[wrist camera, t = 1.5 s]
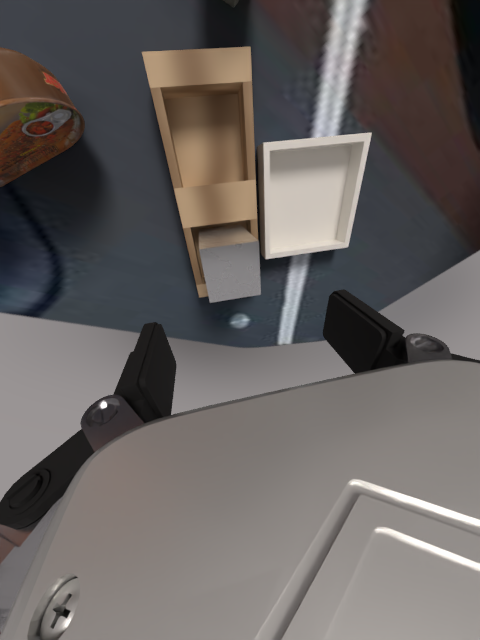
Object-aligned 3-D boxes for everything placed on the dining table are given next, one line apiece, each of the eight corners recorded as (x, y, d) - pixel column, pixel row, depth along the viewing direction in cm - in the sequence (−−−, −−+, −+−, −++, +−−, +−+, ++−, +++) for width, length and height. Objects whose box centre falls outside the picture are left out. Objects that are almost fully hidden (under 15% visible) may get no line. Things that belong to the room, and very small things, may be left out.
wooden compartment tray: (243, 66, 18) (250, 46, 15) (254, 279, 29) (259, 287, 26) (150, 71, 17) (141, 51, 14) (199, 287, 28) (199, 297, 26)
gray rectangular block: (240, 224, 24) (258, 241, 17) (243, 264, 27) (260, 294, 20) (198, 229, 24) (199, 249, 16) (206, 270, 26) (209, 302, 19)
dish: (355, 137, 22) (371, 132, 20) (337, 242, 28) (348, 247, 26) (257, 147, 21) (263, 142, 19) (260, 253, 27) (265, 259, 25)
